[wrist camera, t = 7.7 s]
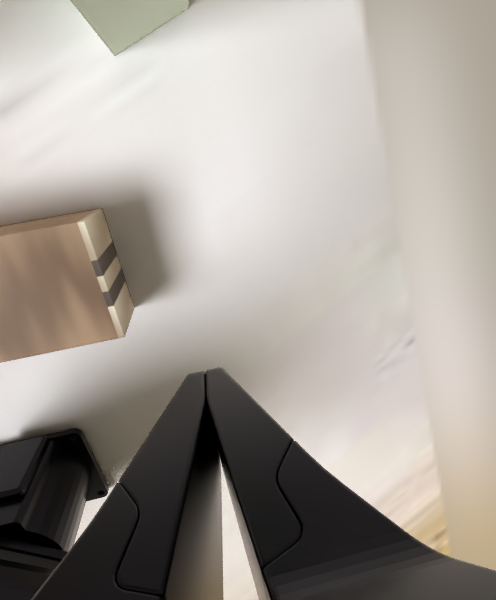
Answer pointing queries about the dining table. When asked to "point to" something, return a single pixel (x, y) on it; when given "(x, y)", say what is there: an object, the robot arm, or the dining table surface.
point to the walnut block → (60, 285)
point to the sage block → (127, 18)
